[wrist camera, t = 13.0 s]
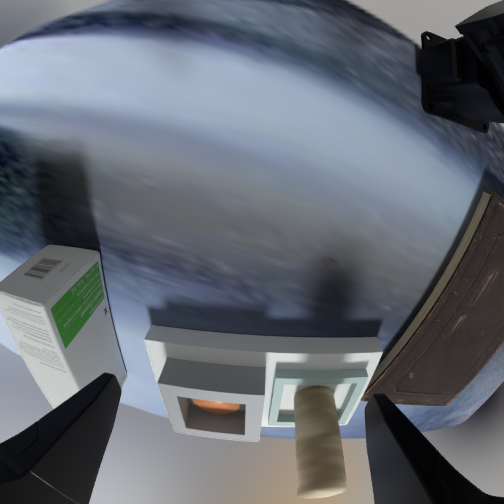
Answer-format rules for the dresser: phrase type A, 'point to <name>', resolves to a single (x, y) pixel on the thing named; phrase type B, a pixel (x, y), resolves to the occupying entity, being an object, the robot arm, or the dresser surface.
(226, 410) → the button
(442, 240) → the dresser surface
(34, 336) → the skincare box
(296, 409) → the beige cylindrical rod
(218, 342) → the panel
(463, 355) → the hardcover book
